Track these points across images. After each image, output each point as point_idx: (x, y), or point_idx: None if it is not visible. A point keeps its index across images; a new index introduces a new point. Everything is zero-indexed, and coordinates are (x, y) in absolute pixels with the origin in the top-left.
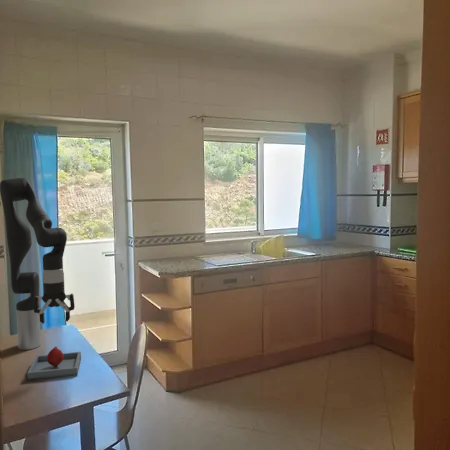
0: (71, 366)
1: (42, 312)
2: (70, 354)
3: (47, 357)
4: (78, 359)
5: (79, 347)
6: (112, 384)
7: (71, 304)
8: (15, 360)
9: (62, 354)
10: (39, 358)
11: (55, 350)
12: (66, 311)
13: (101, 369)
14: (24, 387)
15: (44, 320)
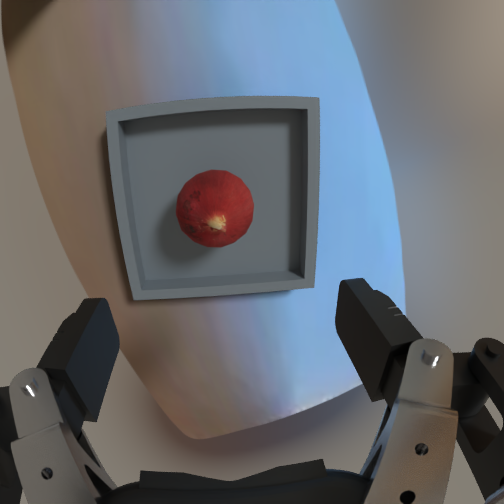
0: (282, 209)
1: (85, 443)
2: (270, 108)
3: (179, 224)
4: (316, 199)
5: None
6: None
7: (476, 451)
8: (37, 79)
9: (251, 216)
10: (125, 120)
11: (219, 235)
12: (387, 409)
13: (382, 234)
14: (149, 324)
15: (101, 312)
